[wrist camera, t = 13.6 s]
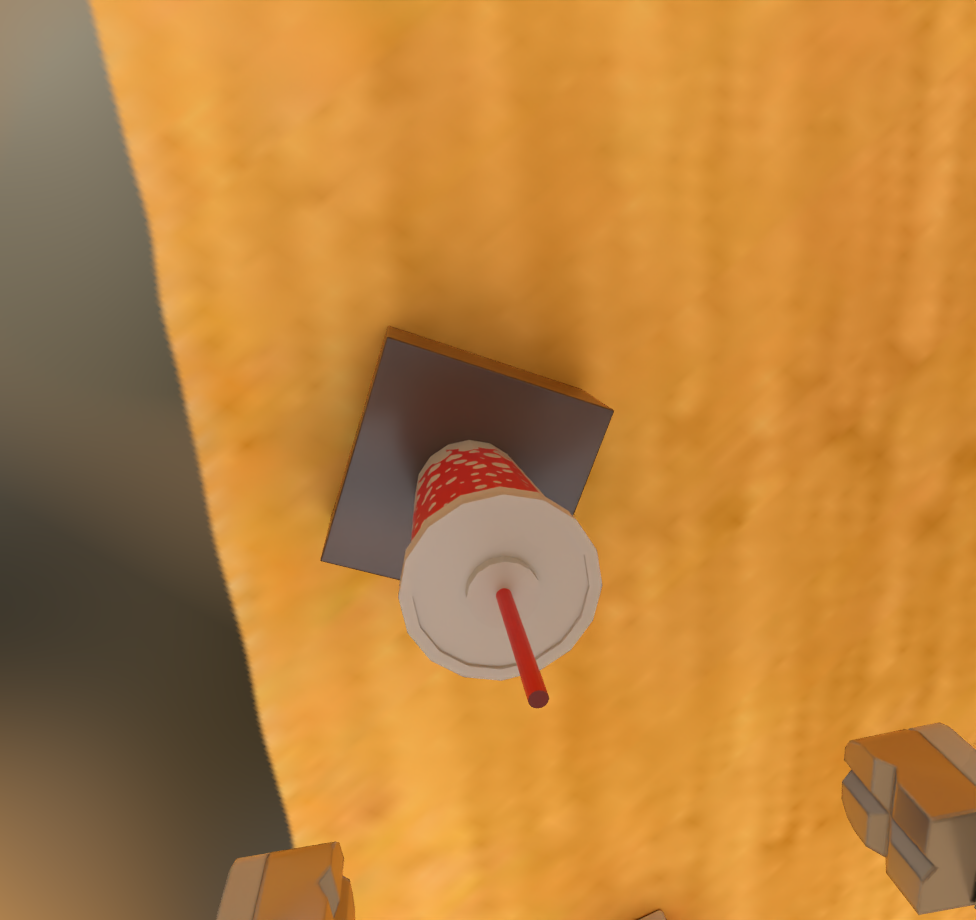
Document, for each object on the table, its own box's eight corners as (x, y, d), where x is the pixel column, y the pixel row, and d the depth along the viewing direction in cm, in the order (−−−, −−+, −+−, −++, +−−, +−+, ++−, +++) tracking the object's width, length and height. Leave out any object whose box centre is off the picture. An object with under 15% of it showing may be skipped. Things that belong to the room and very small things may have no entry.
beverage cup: (366, 496, 27) (340, 716, 14) (468, 391, 27) (544, 518, 13) (469, 583, 29) (533, 851, 16) (567, 487, 28) (721, 683, 15)
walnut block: (388, 325, 30) (387, 336, 25) (582, 389, 32) (614, 410, 28) (330, 518, 32) (320, 561, 28) (515, 566, 35) (535, 613, 30)
